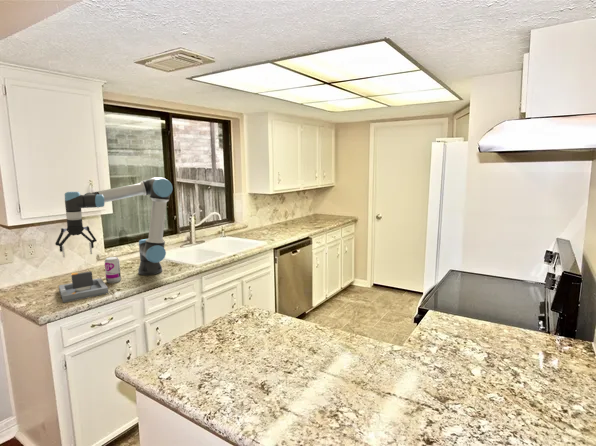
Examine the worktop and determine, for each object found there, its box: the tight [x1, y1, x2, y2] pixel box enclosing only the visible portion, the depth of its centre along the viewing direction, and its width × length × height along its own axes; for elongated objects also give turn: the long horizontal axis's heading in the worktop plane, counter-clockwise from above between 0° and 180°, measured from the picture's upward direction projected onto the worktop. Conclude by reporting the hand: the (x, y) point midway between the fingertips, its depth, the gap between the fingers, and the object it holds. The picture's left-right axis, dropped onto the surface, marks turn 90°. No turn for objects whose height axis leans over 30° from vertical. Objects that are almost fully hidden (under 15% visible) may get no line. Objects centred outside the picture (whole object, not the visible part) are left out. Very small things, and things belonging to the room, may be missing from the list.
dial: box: [70, 270, 94, 292], centre depth 210 cm, size 10×8×10 cm
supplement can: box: [104, 256, 122, 284], centre depth 229 cm, size 8×8×15 cm
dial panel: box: [58, 277, 109, 304], centre depth 211 cm, size 22×22×4 cm
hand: (77, 255), depth 211 cm, fingers open, 13 cm apart
